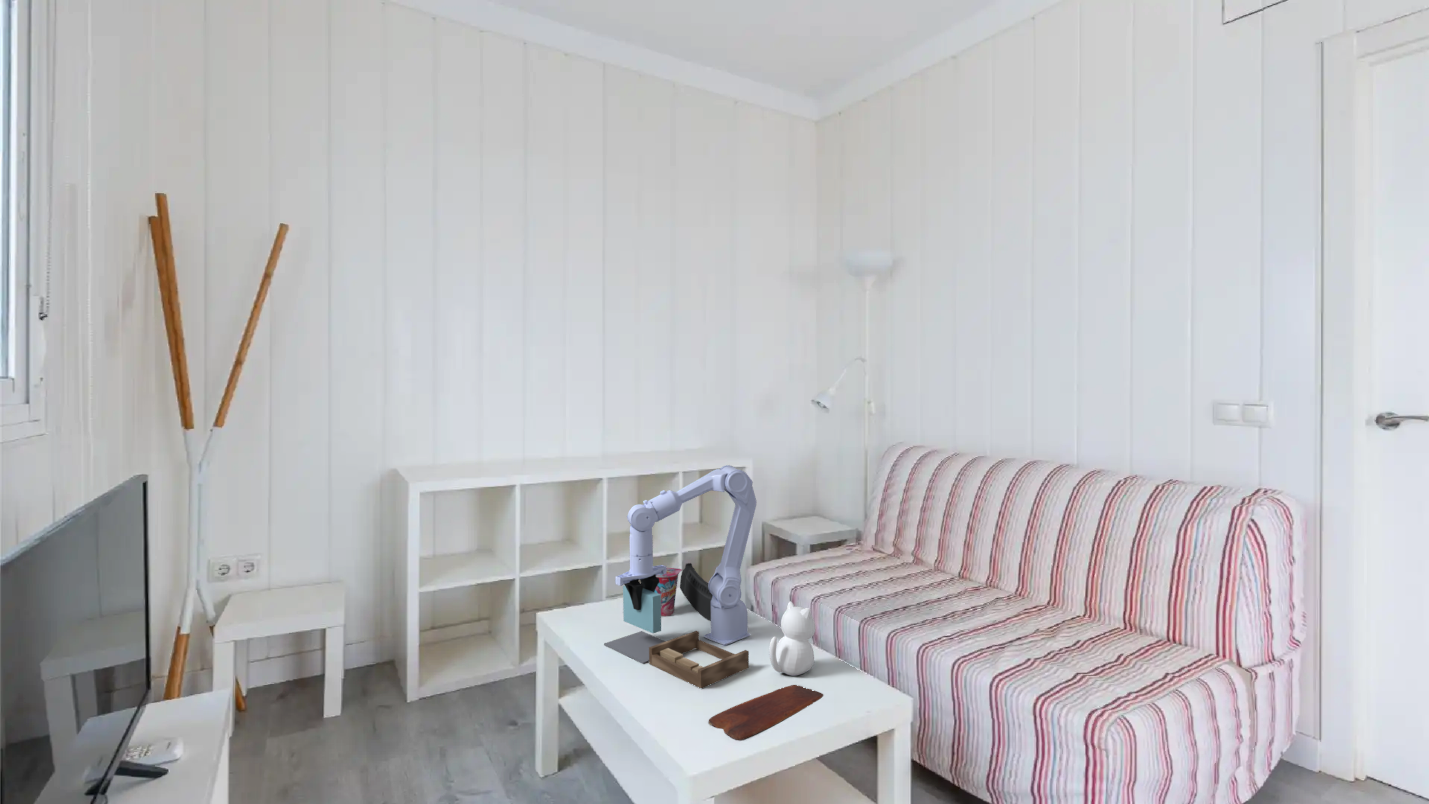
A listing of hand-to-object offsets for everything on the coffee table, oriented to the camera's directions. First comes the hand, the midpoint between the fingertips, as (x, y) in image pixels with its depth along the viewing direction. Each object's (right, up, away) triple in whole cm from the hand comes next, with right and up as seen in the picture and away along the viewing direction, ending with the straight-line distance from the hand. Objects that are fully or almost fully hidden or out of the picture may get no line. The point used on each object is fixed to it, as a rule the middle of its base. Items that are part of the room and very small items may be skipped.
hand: (642, 607), depth 174 cm
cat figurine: (+36, -11, -14) cm, 40 cm away
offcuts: (+11, -11, -14) cm, 21 cm away
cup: (+4, -9, +25) cm, 27 cm away
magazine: (+15, -9, +26) cm, 31 cm away
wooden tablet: (+29, -12, -32) cm, 45 cm away
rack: (+14, -11, -11) cm, 21 cm away
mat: (0, -10, 0) cm, 10 cm away
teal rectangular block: (0, -5, 0) cm, 5 cm away
